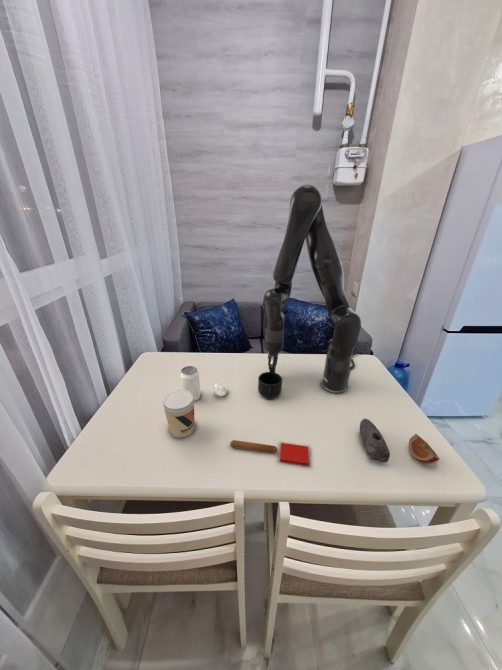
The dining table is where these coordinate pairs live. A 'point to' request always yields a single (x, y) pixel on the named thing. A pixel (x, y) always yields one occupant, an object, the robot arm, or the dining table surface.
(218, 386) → the dumpling
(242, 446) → the spatula
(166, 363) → the dining table surface
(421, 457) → the fruit slice
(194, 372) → the can
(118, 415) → the dining table surface
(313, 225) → the robot arm
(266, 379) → the mug
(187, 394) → the beige lidded canister
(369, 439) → the perforated stone tool
